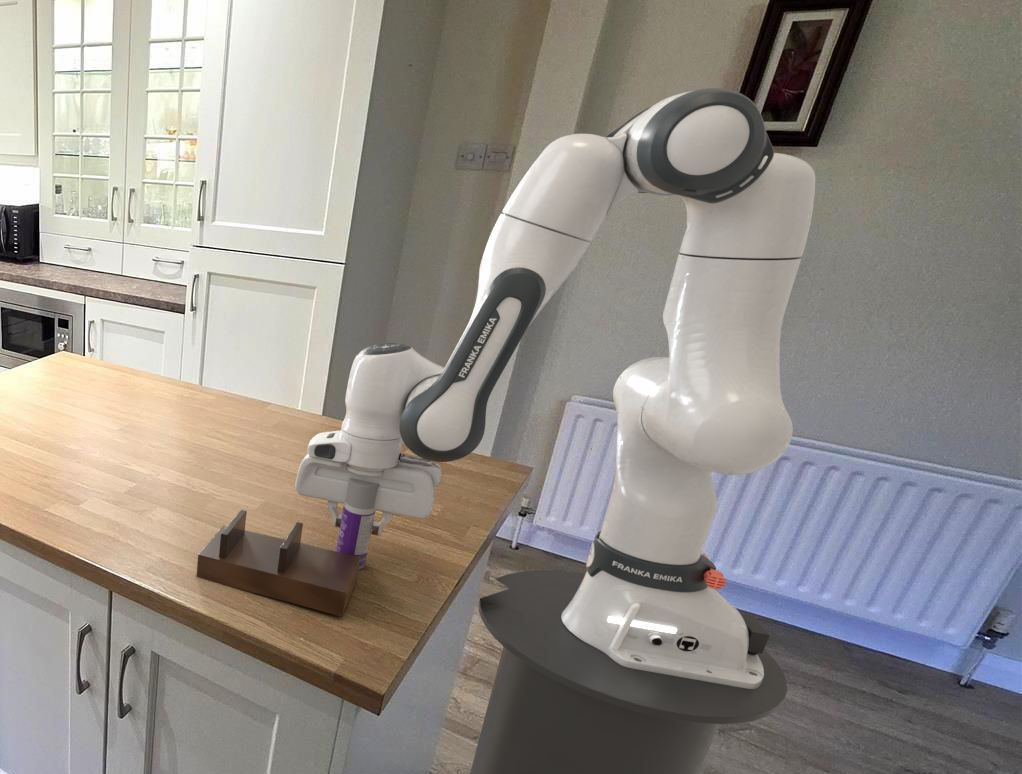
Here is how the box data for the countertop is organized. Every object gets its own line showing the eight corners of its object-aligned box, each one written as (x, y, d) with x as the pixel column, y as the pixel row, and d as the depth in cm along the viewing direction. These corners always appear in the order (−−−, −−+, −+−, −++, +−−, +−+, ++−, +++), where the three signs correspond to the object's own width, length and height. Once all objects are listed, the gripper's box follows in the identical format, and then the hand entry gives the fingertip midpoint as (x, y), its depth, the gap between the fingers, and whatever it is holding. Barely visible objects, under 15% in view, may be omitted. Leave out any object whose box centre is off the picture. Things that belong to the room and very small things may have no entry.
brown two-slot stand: (356, 579, 115) (364, 533, 112) (342, 616, 105) (350, 567, 102) (221, 546, 125) (225, 503, 122) (196, 577, 116) (199, 531, 113)
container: (328, 557, 121) (342, 476, 115) (350, 551, 123) (365, 470, 116) (348, 572, 117) (364, 489, 111) (371, 565, 119) (387, 483, 112)
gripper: (446, 454, 110) (429, 536, 115) (306, 432, 120) (297, 509, 125) (442, 467, 105) (425, 553, 110) (297, 444, 115) (288, 523, 120)
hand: (356, 530), depth 118 cm, fingers closed on container, 4 cm apart
